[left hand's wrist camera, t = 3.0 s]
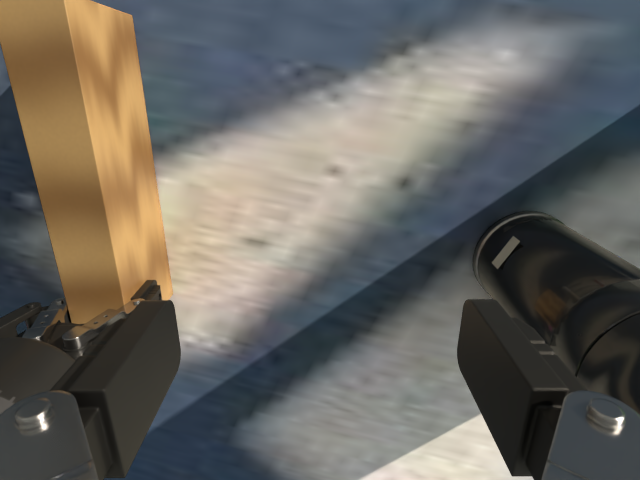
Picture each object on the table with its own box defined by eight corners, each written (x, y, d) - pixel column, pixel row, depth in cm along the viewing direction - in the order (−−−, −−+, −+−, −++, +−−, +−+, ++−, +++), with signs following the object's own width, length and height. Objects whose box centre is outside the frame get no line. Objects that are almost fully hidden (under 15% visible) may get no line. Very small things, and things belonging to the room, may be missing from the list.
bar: (76, 15, 33) (-14, -10, 24) (132, 15, 33) (62, -10, 24) (129, 293, 42) (78, 350, 33) (173, 293, 42) (133, 350, 33)
